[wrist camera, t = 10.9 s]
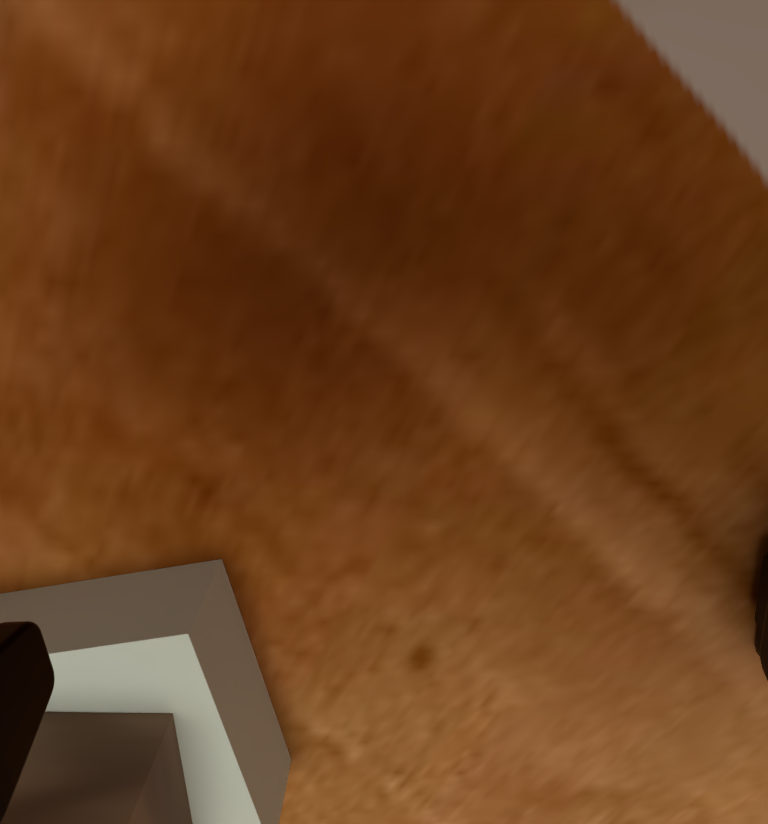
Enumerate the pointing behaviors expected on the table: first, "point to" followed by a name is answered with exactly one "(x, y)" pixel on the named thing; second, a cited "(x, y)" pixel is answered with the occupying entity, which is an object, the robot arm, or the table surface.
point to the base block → (169, 676)
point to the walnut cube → (102, 772)
